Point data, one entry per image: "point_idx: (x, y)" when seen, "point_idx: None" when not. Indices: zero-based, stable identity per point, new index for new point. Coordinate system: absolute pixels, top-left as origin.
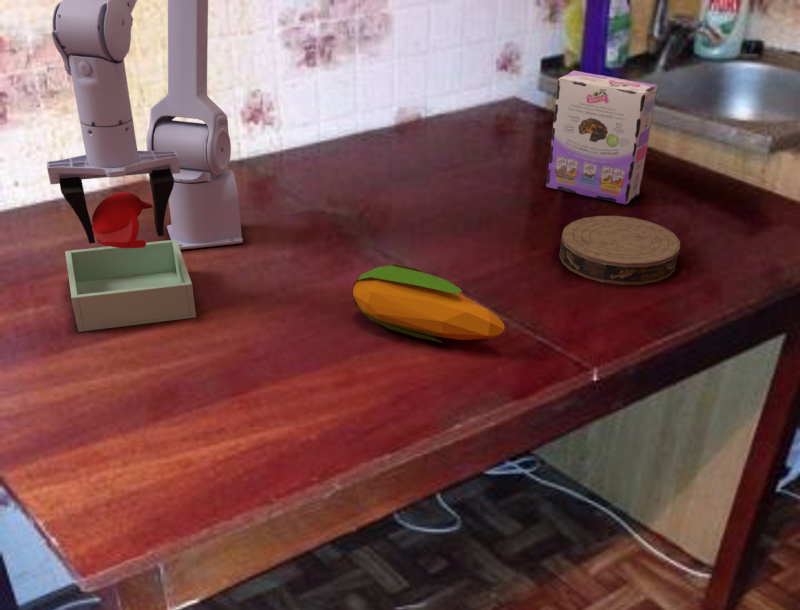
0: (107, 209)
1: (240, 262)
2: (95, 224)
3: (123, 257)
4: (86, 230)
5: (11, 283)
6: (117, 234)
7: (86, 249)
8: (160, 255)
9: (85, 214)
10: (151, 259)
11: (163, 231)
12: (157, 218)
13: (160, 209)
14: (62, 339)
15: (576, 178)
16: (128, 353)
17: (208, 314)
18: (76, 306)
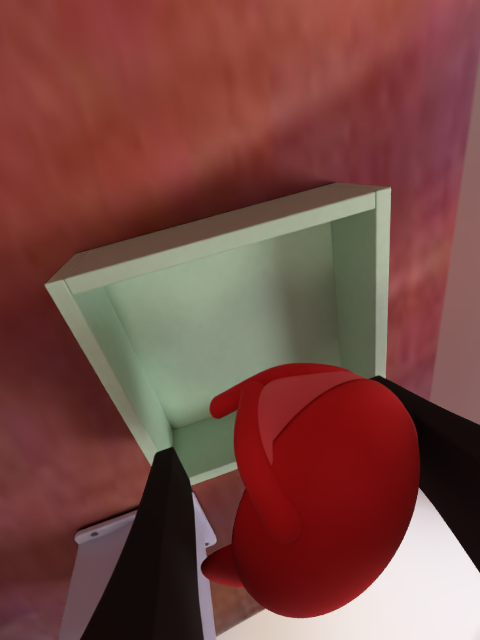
0: (389, 491)
1: (56, 480)
2: (407, 413)
3: None
4: (418, 397)
5: (431, 364)
6: (311, 393)
7: None
8: (200, 450)
9: (469, 445)
10: (217, 438)
11: (151, 466)
12: (163, 508)
13: (141, 558)
14: (368, 147)
15: None
16: (211, 41)
17: (47, 271)
18: (367, 186)
